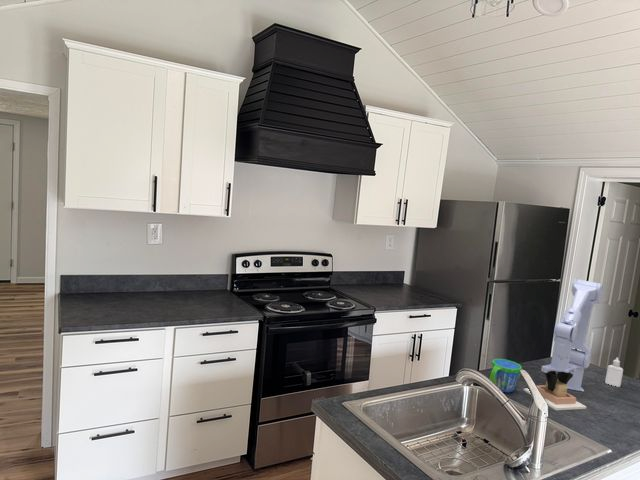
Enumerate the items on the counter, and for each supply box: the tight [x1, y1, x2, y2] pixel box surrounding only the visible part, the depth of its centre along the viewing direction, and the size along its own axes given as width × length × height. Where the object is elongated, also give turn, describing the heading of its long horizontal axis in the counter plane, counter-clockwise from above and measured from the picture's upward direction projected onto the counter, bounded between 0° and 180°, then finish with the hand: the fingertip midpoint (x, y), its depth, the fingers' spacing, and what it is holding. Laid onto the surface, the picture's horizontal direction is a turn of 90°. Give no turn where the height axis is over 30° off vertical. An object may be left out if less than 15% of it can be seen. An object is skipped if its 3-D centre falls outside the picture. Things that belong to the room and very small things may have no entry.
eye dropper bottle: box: [604, 357, 624, 388], centre depth 194 cm, size 4×6×12 cm
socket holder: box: [523, 384, 587, 411], centre depth 172 cm, size 16×14×3 cm
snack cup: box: [488, 358, 523, 393], centre depth 176 cm, size 16×10×10 cm
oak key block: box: [545, 380, 568, 397], centre depth 171 cm, size 6×4×5 cm, turn 17°
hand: (555, 390), depth 172 cm, fingers closed on oak key block, 4 cm apart
